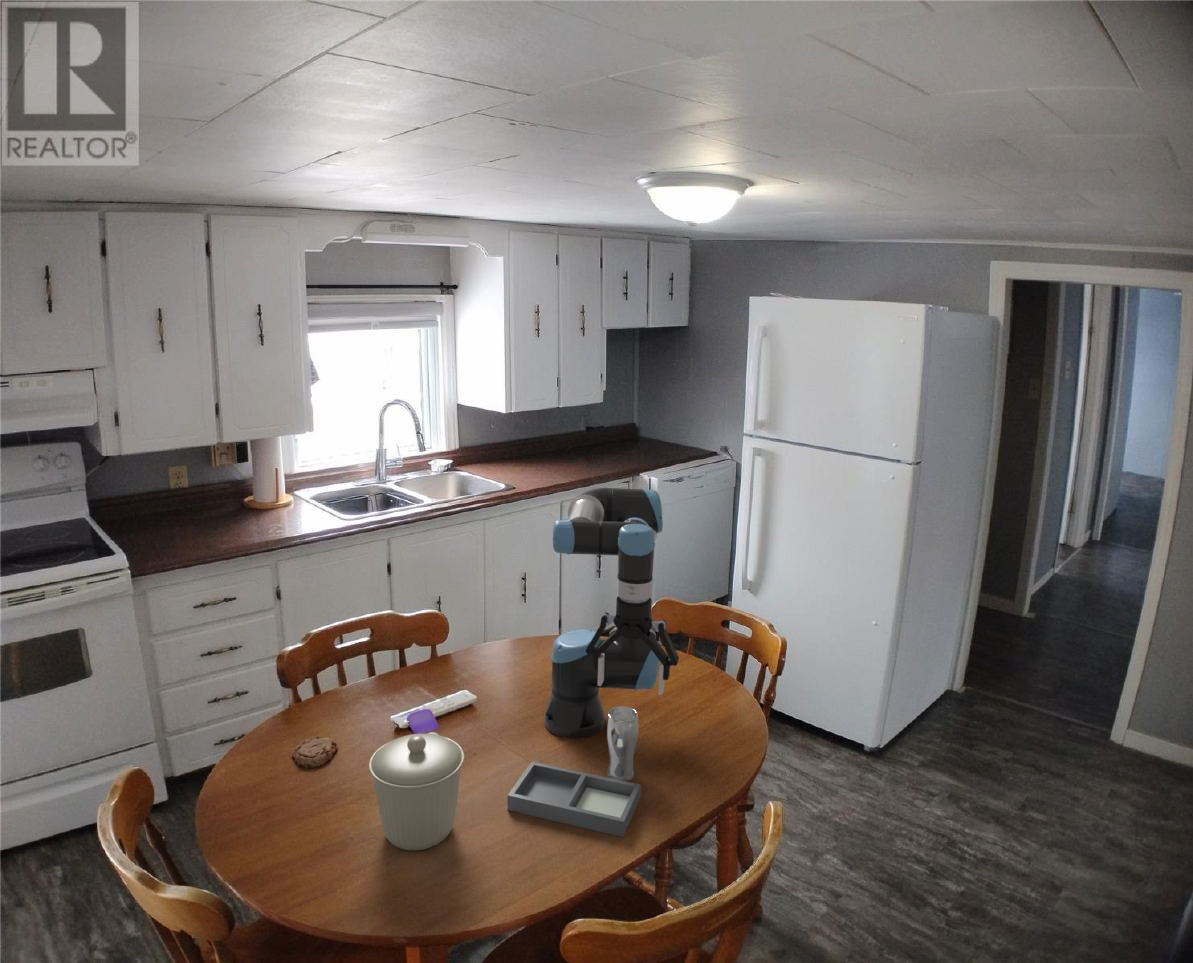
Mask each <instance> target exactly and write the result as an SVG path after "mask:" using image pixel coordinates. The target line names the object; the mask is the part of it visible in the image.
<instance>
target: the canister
mask: <svg viewBox="0 0 1193 963" xmlns="http://www.w3.org/2000/svg"><path fill="white" fill-rule="evenodd" d="M464 762H465V751H464V749H463V747H461V745H459V743H458V742H456V741H455V740H454V739H451V738H449V737H446V736H443V735H439V734H438V735H435V734H428V733H422V734H414V733H413V734H407V735H404V736H403V735H402V736H400V737H397V738H395V739H392V740H390V741H388V742H386V743H385V744H383V745H382V746H380V747H379V748H377V750H375V752H373V754H372V755H371V757H370V759H369V761H368V771H369V773H370V775H371V776H372V778H373V783H374V788H375V793H376V800H377V806H378V812H379V816H380V822H381V826H382V831H383V833H384V835H385V837H386V839H387V840H388V841H389V842H390V844H392V845H393V846H394V847H396V848H400V850H405V851H422V850H427V849H430V848H432V847H435V846H436V845H439V844H440V843H441V842H443V841H444V840H445V839H446V838H448V835H449V834H450V832H451V830H452V828H453V827H454V824H455V818H456V812H457V804H458V798H459V796H458V794H459V785H460V778H461V777H460V776H461V768H462V767H463V764H464Z"/></svg>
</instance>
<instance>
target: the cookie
mask: <svg viewBox="0 0 1193 963" xmlns="http://www.w3.org/2000/svg"><path fill="white" fill-rule="evenodd" d="M338 749H339V745H338V742H336V740H334V739H333V738H329V737H322V736H320V735H315V736H311V737H309V738H307V739H304V740H302V741H301V742H299V743H298V744H297V745H296V746H295V748H293V750H292V752H291V754H292V756H293V758H294V759H295V760H294V762H295V763H296V765H298V766H301V767H303V768H305V769H309V768H312V769H314V768H318V767H321V766H323V765H325V764H326V763H328V761H331V759H332V758H333V756H334V753H335V752H337V751H338Z"/></svg>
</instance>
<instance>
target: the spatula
mask: <svg viewBox="0 0 1193 963" xmlns="http://www.w3.org/2000/svg"><path fill="white" fill-rule="evenodd" d="M407 721H409V722H407ZM406 722H407V724H408V725H409V727H410V729H411V731H412V733H413V734H426V733H427V734H435V735H439V734H438V733H437V732H433V731H435V730H437V729H439V728H440V726H439V723H438V722H437V719H436V718H435V716H434V713H433V711H432V710H431V709H430V708H423V709H419V710H416V711H413V712H411V713H409V714H408V715H407V717H406Z"/></svg>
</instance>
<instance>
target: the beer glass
mask: <svg viewBox="0 0 1193 963" xmlns="http://www.w3.org/2000/svg"><path fill="white" fill-rule="evenodd" d="M638 731H639V715H638V711H637V710H636V709H635V708H633V707H630V706H626V705H619V706H617V705H616V706H614V707H612V708H610V709H609V710H608V713H607V722H606V741H607V748H608V749H607V750H608V755H609V760H608V761H609V762H608V768H607V772H606V775H607V777H608V778H611V779H616V780H621V781H625V782H629V781H630V780H632V778H634V776H635V769H634V755H635V752H636V747H637V742H638V737H639V736H638V735H639V734H638V733H639V732H638Z"/></svg>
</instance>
